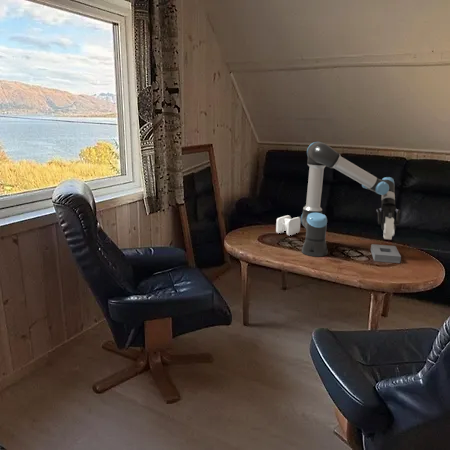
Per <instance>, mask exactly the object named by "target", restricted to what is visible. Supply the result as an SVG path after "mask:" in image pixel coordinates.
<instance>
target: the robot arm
mask: <svg viewBox="0 0 450 450" xmlns="http://www.w3.org/2000/svg"><path fill="white" fill-rule="evenodd" d="M306 149H307V150H306V155H307V163H306V164H307V166H308V167H309V170H308V178H307V179H308V180H307V181H308V183H307V190H306V191H307V192H306V201H305V203H306V204H305V205H304V206H303V208H302V212H301V213H302V214H301V215H300V219H301V220H300V223H301V224H302V226H303V227H304V228H305V240H304V243H303V245H302V247H301V253H302V254H303V255H306V256H309V257H325V256H327V255H328V246H327V242H326V237H327V225H328V224H327V223H328V218H327V216H326V215H325V214H323V208H322V207H321V201H322V192H323V181H324V170H325V168H326V167H327V168H328V169H335V170H336V171H338V172H340V173H341V174H343V175H345V176H346V177H349V178H350V179H352V180H353V181H356V182H357V183H359V184H360V185H361V187H362V188H363V189H366V190H370V191H372V192H374V193H375V194H377V195H381V207H380V208H379V207H377V208H376V213H377V224H378V225H380V226H381V230H382V231H383V235H385V234H386V223H385V217H387V216H388V215H389V213H392V217H393V218H394V225H393V233H392V237H394V236H395V231H397V226H399V225H400V217H401V216H400V215H401V214H400V213H401V209H400V208H398V209H397V207H396V198H395V197H396V195H395V191H396V190H395V187H396V185H395V181H394V178H393V177H390V176H386V177H383V178H382V179H380V178H378V177H377V176H375V175H374V174H371V173H370V172H369V171H366V170H364V169H363V168H361V167H359V166H358V165H356V164H355V163H353V162H351V161H349V160H348V159H346V158H345V157H342V156H341V153H340V152H338V151H336V150H335V149H334V148H332V147H331V146H330V145H328V144H327V143H324V142H322V141H314V142H312V143H310V145H309V146H308V147H307V148H306ZM381 212H382V213H383V217H382V215H381ZM395 213H396V216H395ZM381 217H382V218H381ZM395 217H396V218H395Z"/></svg>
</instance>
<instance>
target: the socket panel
mask: <svg viewBox="0 0 450 450" xmlns="http://www.w3.org/2000/svg"><path fill="white" fill-rule="evenodd" d="M397 248H398V247H397V246H396V245H389V244H388V245H386V244H377V243H376V244H374V243H373V244H371V245H370V253H371V256H372V258H373V262H383V263H391V264H392V263H394V264H401V261H402V255H401V254H400V252H399V250H398V249H397Z"/></svg>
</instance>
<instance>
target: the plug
mask: <svg viewBox="0 0 450 450" xmlns="http://www.w3.org/2000/svg"><path fill="white" fill-rule="evenodd" d="M384 223H386V234H385V235H384V234H383V236H382V237H383V239H384V240H392V239H393V236H392V233H393V225H394V218H393V217H392V213H389V214H387V216H386V217H385V222H384Z"/></svg>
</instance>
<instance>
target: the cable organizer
mask: <svg viewBox="0 0 450 450" xmlns="http://www.w3.org/2000/svg"><path fill="white" fill-rule="evenodd" d="M284 231H286V232H284ZM275 232H276V234H279V233H280V234H283V233H286V235H287V236H289V237H291V236H293V235H297V234H298V233H300V232H301V216H297V217H293V218H292V217H291V215H288V214H287V215H283V216H280V217H277V218H276V223H275ZM296 233H297V234H296ZM290 235H291V236H290Z"/></svg>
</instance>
